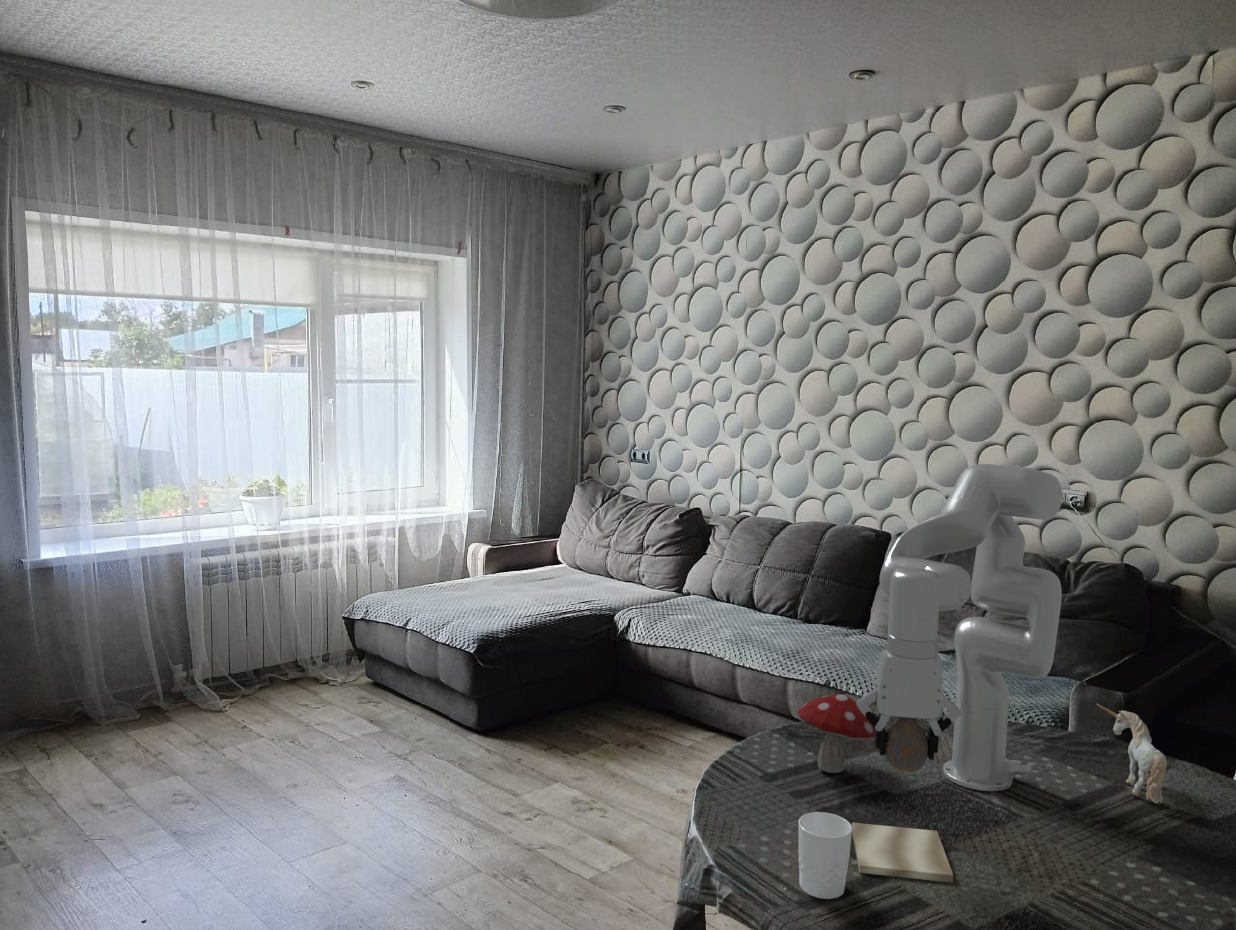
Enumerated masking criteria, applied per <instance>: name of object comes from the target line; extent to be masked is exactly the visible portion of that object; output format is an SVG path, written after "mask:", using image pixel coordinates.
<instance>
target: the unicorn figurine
mask: <svg viewBox="0 0 1236 930" xmlns="http://www.w3.org/2000/svg"><path fill="white" fill-rule="evenodd" d="M1095 705H1096V706H1097V707H1098V708H1100V709H1102V710H1103V711H1105V712H1106V713H1108V714H1109V715H1111V716H1112V717H1114V718H1116V719H1115V723H1114V724H1113V728H1112V732H1113V733H1114V735H1116V736H1118V735H1119V736H1121V735H1122V732H1123V731H1124V730H1125V729H1127V728H1130V730H1131V733H1132V739H1131V741H1130V743H1129V745H1128V749H1127V751H1128V756H1129V762H1130V763H1129V775H1128V778H1127V779H1126V780H1125V782H1127V783H1130V784H1129V785H1130V786H1131V785H1134V786H1133V789H1132V791H1131V793H1132V794H1134V795H1139V796H1140V792H1141V790H1142V785H1143V784H1144V782H1147V785H1146V793H1145V794H1146V795H1145V798H1146V800H1147V801H1148V800H1149V799H1150V800H1151V801H1152V803H1153V802H1154V803H1153V804H1158V803H1159V802H1160V803H1161V802H1163V796H1162V789H1163V787H1164V786H1163V782H1164V780H1165V777H1166V771H1167V765H1168V764H1167V763H1168V760H1167V758H1166V756H1165V755H1164V754H1163V752H1162V751H1160V750H1159V749H1156V748H1155V746H1154V745H1153V744H1152V742H1153V741H1152V737H1151V736H1150V730H1149V729H1148V726H1147V724H1146V723H1144V721H1143V720H1142V719H1141V718H1140V716H1139V715H1138V714H1136V713H1134V712H1130V711H1127V710H1122V709H1121V711H1120V710H1118V712H1119V713H1118V714H1117V713H1116V712H1113V711H1112V710H1110V709H1109V708H1106V707H1105V706H1102V705H1101V704H1099V703H1095ZM1136 762H1137V763H1136ZM1136 764H1138V780H1137V782H1136V779H1137V778H1136V775H1135V771H1136V768H1137V766H1136ZM1149 772H1150V773H1149ZM1132 794H1131V795H1132ZM1161 804H1162V803H1161Z"/></svg>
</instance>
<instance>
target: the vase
mask: <svg viewBox="0 0 1236 930" xmlns="http://www.w3.org/2000/svg"><path fill="white" fill-rule="evenodd" d="M928 751H929V744H928V739H927V732H926V731H925V729H924V728H923V727H922V726H921V724H920V723H919V721H918V719H912V718H899V717H896V720H895V721H894V722H892V723H891V724H890V726H889V727H888V728H887V730H886V744H885V755H884V756H885V758H886V761H887V762H888V764H889V765H890V766H891V767H892V768H893V769H895V770H896V771H897V772H900V773H910V774H911V773H915V772H917V771H919V770H920V769H922V767H923V766H924V765H925V764H926V761H928V760H927V759H928Z"/></svg>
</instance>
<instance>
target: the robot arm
mask: <svg viewBox="0 0 1236 930" xmlns="http://www.w3.org/2000/svg"><path fill="white" fill-rule="evenodd" d="M1062 502H1063V489H1062V484H1061V483H1060V481H1059V479H1058V478H1057V476H1055V475H1053V474H1051V473H1048V472H1045V471H1042V470H1038V469H1035V468H1031V467H1025V466H1023V467H1022V466H1015V465H1001V464H988V463H980V464H979V463H978V464H973V465H970V466H968V467H966V468H965V469H963V471H962V472H961V473H960V475H959V477H958V479H957V480H956V482H955V484H954V486H953V488H952V490H951V492H950V494H949V495H948V497H947V499H946V502H945V504H944V505H943V507H942V508H941V511H940V513H939V514H937V515H934V516H932V517H930V518H928V519H926V520H923V521H921V522H920V523H918V524H916V525H914V526H912V527H910V528H909V529H907V530H906V531H904V532H903V533H901V535H899V537H897V539H896V540H895V541H894V543H893V545H892V547H891V548H890V551H888V553H887V555H886V557H885V559H884V562H883V564H882V567H881V569H880V574H879V586H880V590H881V593H883V595H884V596H886V597H887V598H888V599H889V605H888V608H889V609H888V621H887V622H888V624H887V626H888V627H887V641H886V642H887V643H886V645H887V646H886V649H883V650H881V653H880V655H879V656H880V657H879V661H878V664H877V665H878V666H877V671H876V678H875V679H876V680H875V687H874V688H873V689H872V690H871V691H869V692H868V693H866V694H865V695H864V696H862V697H861V698H859V699H858V700H856V703H857V707H858V708H859V710H860V711H861V712H862V713H863V714H864V716H865V717H866V719H867V720H868V721H869V722H870V723H871V724H872V725H873V726H874V727H875V738H874V747H875V749H878V753H879V755H880V756H882V757H883V756H885V744H886V732H887V730H886V728H885V726H886V724H887V723H888V721H889V720H890V719H891V718H898V717H899V718H912V719H917V720H927V722H928V724H929V728H928V729H927V731H926V736H927V739H928V744H929V751H928V757H927V759H929V760H931V761H935V754H938V753H939V740H940V738H939V737H941V736H942V733H943V732H944V731H945V730H947V729H948V728H949V727H951V725H952V724H953V723H954V725H953V736H952V737H953V738H952V739H953V740H952V753H951V754H952V755H951V756H952V757H951V760H948V761H946V762H945V763H943V765H942V773H943V775H944V776H945V777H946V778H947V780H949V781H950V782H952V783H954V784H956V785H958V786H961V787H964V788H968V789H970V790H975V791H981V792H1000V791H1004V790H1007V789H1009V788H1011V786H1012V784H1013V776H1014V775H1015V774H1016V775H1021V776H1031V775H1032V766H1031V765H1029V764H1022V763H1021V760H1016V759H1015V760H1011V759H1009V758H1007V757H1006V751H1007V737H1008V724H1009V708H1010V691H1009V687H1008V685H1007V682H1006V681H1005V678H1004V677H1003V676H1002V673H1004V674H1009V675H1013V676H1019V677H1022V678H1023V677H1024V678H1028V679H1034V680H1037V679H1040V680H1041V679H1043V678H1045V677H1047V676H1048V675H1049V673H1051V672H1050V671H1051V669H1052V666H1053V664H1054V663H1053V662H1054V657H1055V652H1056V644H1057V637H1058V629H1059V621H1060V615H1061V607H1062V597H1063V596H1062V595H1063V593H1062V591H1063V589H1062V585H1061V584H1062V583H1061V580H1060V579H1059V577H1058V576H1057V574H1055V573H1054V572H1052V571H1051V570H1049V569H1048V570H1047V569H1045V568H1040V567H1033V566H1028V565H1027V566H1026V565H1024V562H1023V561H1024V556H1025V555H1024V554H1025V547H1026V538H1025V535H1024V533H1023V531H1022V529H1021V527H1020V526H1019V524H1018V523H1017V521H1016V520H1015V519H1014V518H1013V517H1016V518H1025V519H1033V520H1041V521H1042V520H1043V521H1048V520H1051V519H1052V518H1054V517H1056V515H1057V514H1058V512H1059V511H1060V508H1061V506H1062ZM973 548H976V551H975V557H974V563H973V570H972V578H971V576H970V574H969V572H968V571H967V570H966V569H965V568H963V567H961V566H959V565H957V564H951V563H948V562H941V561H940V562H939V561H934V560H932V559H931V560H930V559H927V558H930V557H933V556H939V555H944V554H950V553H956V552H960V551H965V550H968V549H973ZM970 597H971V601H972V603H973V604H974V605H975V606H976V607H978V608H980V609H982V610H986V611H991V612H995V613H1000V614H1005V615H1010V616H1017V617H1021V618H1025V619H1027V620H1028V623H1029V625H1027V624H1022V623H1017V622H1011V621H1008V620H1002V619H997V618H990V617H983V616H970V617H966V618H963V620H961V621H960V622H959V623H958V624H957V626H956V628H955V630H954V631H955V633H954V638H953V639H954V650H955V651H954V652H955V658H956V693H955V694H956V696H955V703H954V702H953V701H951V700H950V699H949V698H948V697H947V696H946V695H945V694H944V683H943V682H944V680H943V679H944V678H943V669H942V668H943V666H942V661H941V656H940V654H939V652H940V651H947V647H948V646H947V645H948V644H947V641H944V640H943V641H942V639H940V638H938V635H939V634H938V630H939V618H940V617H939V615H940V612H950V611H955V610H957V609H960V608H961V607H963V606H964V605H965V604H966V602H967V601H968V600H969V599H970ZM873 703H874V705H876V707H877V712H878V713H876V714H875V712H873V711H872V710H871V709H870V707H869V706H870V705H871V704H873ZM943 708H945V709H946V710H947V713H946V714H945V715H943V710H944V709H943ZM942 715H943V716H942ZM937 719H938V720H937Z"/></svg>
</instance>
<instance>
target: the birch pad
mask: <svg viewBox="0 0 1236 930" xmlns="http://www.w3.org/2000/svg"><path fill="white" fill-rule="evenodd" d="M851 826H852V834H851V835H852V840H853V844H854V850H855V855H856V860H857V866H858V871H859V873H860V874H867V875H868V874H870V875H878V876H886V877H896V878H906V879H916V880H925V881H935V882H945V883H953V882H954V874H953V871H952V868H951V865H950V862H949V860H948V858H947V855H946V852H945V849H944V845H943V843H942V841H941V837H940V835H939V832H938V831H937V830H933V829H921V828H910V827H901V826H892V825H880V824H871V823H861V822H851Z"/></svg>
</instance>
